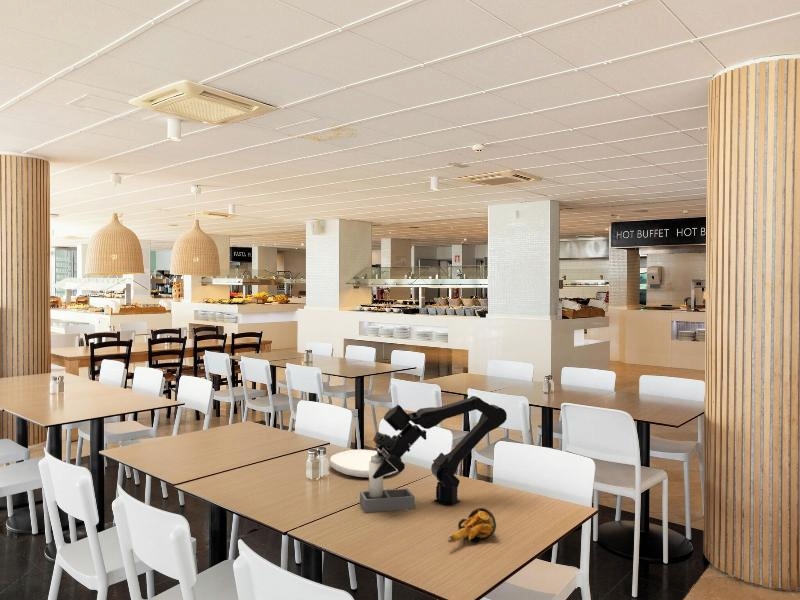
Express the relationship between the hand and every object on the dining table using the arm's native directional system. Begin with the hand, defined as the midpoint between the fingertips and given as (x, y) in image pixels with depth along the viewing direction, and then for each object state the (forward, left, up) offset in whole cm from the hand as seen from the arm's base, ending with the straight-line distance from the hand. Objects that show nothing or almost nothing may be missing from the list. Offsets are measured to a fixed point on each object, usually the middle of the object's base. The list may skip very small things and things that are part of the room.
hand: (371, 475), depth 198 cm
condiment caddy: (-3, -4, -10) cm, 12 cm away
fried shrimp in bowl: (-39, +1, -11) cm, 41 cm away
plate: (+30, -29, -11) cm, 43 cm away
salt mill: (-1, -1, -7) cm, 7 cm away
